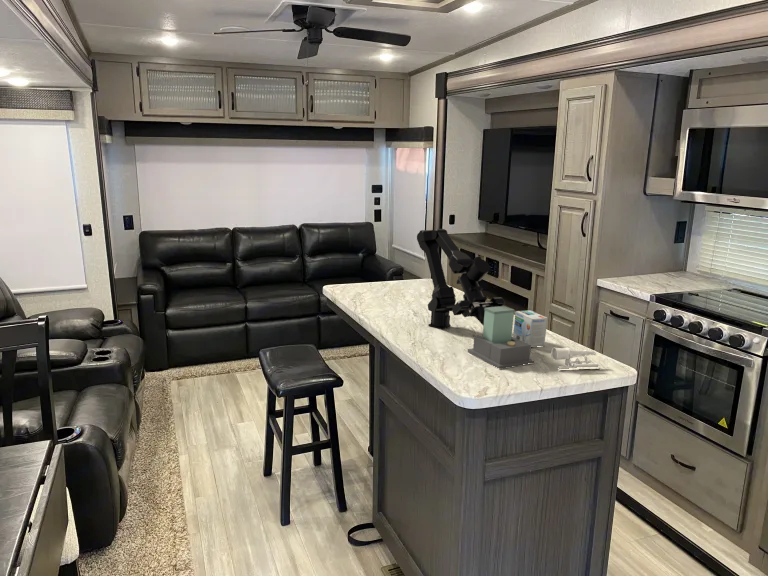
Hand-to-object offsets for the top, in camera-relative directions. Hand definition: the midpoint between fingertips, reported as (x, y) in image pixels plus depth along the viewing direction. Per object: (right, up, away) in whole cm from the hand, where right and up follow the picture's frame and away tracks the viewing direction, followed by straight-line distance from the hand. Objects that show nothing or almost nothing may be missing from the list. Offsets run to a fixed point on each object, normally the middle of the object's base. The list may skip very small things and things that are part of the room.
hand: (487, 327), depth 193 cm
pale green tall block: (+2, -8, -3) cm, 9 cm away
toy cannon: (+26, -12, -11) cm, 31 cm away
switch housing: (+3, -9, -5) cm, 11 cm away
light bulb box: (+17, -6, +12) cm, 21 cm away
